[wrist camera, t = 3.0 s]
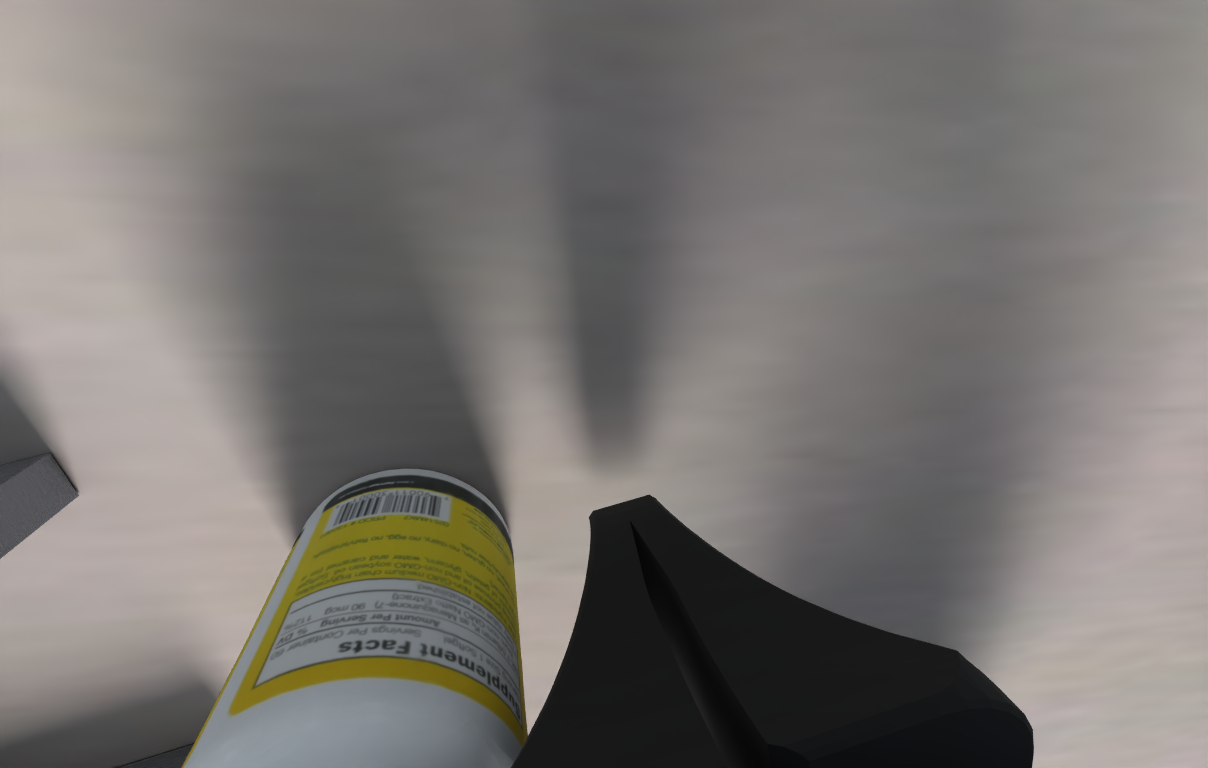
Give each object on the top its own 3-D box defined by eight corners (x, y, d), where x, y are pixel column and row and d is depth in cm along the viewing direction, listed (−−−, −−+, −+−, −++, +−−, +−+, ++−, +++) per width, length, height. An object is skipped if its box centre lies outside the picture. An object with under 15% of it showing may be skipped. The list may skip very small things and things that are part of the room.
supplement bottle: (415, 664, 15) (331, 1232, 7) (251, 561, 13) (-116, 1175, 5) (555, 544, 14) (636, 1008, 6) (406, 420, 12) (264, 854, 5)
